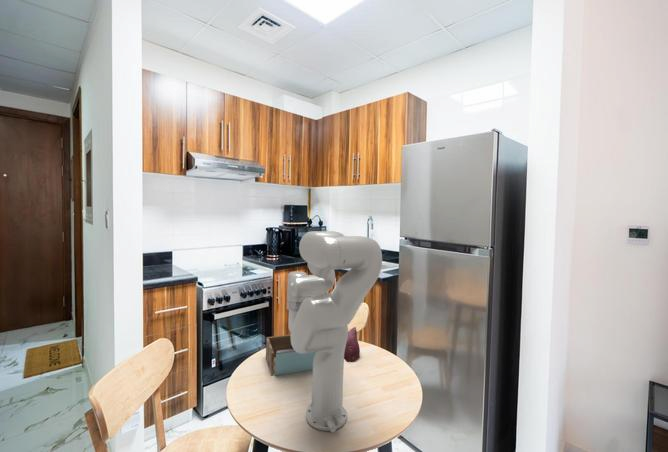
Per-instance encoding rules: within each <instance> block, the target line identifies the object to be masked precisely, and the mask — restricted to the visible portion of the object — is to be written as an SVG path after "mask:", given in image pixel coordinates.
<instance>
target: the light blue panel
mask: <svg viewBox="0 0 668 452" xmlns="http://www.w3.org/2000/svg"><path fill="white" fill-rule="evenodd" d="M315 353H316V352H312V353H307V354H300V353H297V352H296V351H295V350H294V349H287V350H279V351H277V352H276V363H275V374H274V376H279V375H285V374H291V373H297V372H298V373H299V372H306V371H313V359H314V356H315Z"/></svg>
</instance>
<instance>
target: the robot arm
mask: <svg viewBox="0 0 668 452" xmlns="http://www.w3.org/2000/svg"><path fill="white" fill-rule="evenodd" d="M298 250H299V254H300V257H301V258H302V260H304V261H305V262H307V267H308V270H309V271H310V273H311V274H307V273H306V272H305V271H300V270H299V271H297V270H296V271H294V270H293V271H290V272H289V273H288V275H287V287H286V288H287V289H286V290H287V292H286V294H287V296H286V310H288V322H287V323H288V324H287V325H288V331H289V332H290V335H291V336H290V338H291V349H294V350H295V351H296V352H297V353H300V354H307V353H312V352H316V353H315V356H314V359H313V370H312V372H311V374H312V375H311V376H312V379H311V405H310V406H309V407H307V409H306V413H305V419H306V422H307V423H308V424H309V425H310V426H311V427H312V428H313V429H316V430H318V431H324V432H325V431H326V432H330V433H335V432H336V431H337V430H338V429H340V428H341V427H343V426H344V425H345V423H346V422H347V419H348V413H347V410H346V409H345V407H344V406H343V398H344V397H343V391H344V366H345V364H344V363H345V359H344V353H345V347H346V342H347V338H348V332H349V324H350V323H351V322H352V320H354V317H355V315H356V314H357V312H358V311H359V308H360V307H361V305H362V304H363V301H364V300H365V298H366V296H367V295H368V294H369V292H370V291H371V289H372V288H373V286H374V285H375V284H376V282H377V280H378V278H379V276H380V274H381V271H382V266H383V253H382V248H381V246H380V245H379V243H378V242H377V241H376V240H374V239H373V238H370V237H367V236H359V235H358V236H356V235H353V236H348V235H346V236H345V235H344V234H343V233H341V232H338V231H329V230H327V231H323V230H322V231H318V230H316V231H315V230H314V231H307V232H306V233H304V234H303V235H302V237H301V239H300V241H299V249H298ZM347 269H349V270H348V271H346V273H344V274H343V275H342V276H341V277H340V278H339V279H338V280H337V281H336V273H335V272H336V271H335V270H347ZM335 282H336V284H335ZM334 284H335V286H334ZM333 286H334V288H333ZM332 288H333V290H332V291H331V292H329V291H330V290H331V289H332Z"/></svg>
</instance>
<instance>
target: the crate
mask: <svg viewBox="0 0 668 452" xmlns="http://www.w3.org/2000/svg"><path fill="white" fill-rule="evenodd" d="M290 336H291V334H285V335H276V336H267V337H265V338H266V339H265V359H266V360H265V361H266V363H267V365H268V370H269V373H270V377H274V375H275V363H276V352H277V351H279V350H287V349H291V338H290Z"/></svg>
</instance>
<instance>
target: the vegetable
mask: <svg viewBox="0 0 668 452" xmlns="http://www.w3.org/2000/svg"><path fill="white" fill-rule="evenodd" d="M360 350H361V348H360V344H359V340H358V336H357V327H356V326H354V327H352V328H351V329H349V330H348V338H347V342H346V347H345V353H344V361H345V362H347V363H353V362H356V361H358V360H359V359H360V355H361V351H360Z"/></svg>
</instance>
